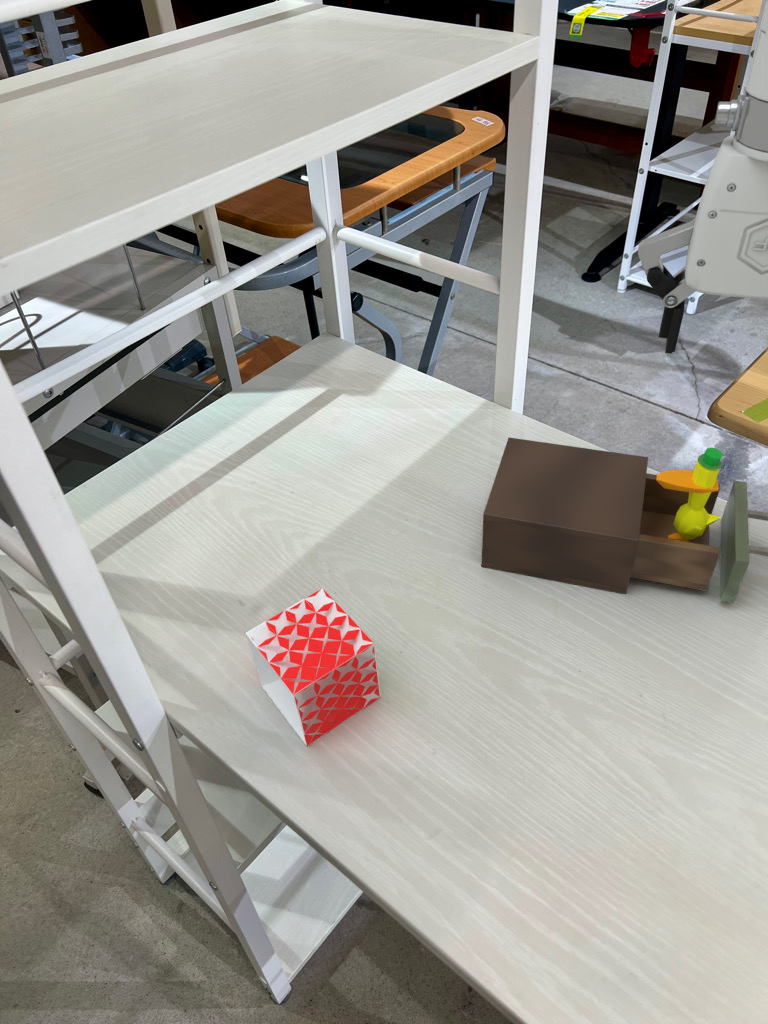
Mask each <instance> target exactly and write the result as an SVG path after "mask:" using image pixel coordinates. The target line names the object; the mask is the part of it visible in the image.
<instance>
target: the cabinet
mask: <svg viewBox="0 0 768 1024" xmlns="http://www.w3.org/2000/svg"><path fill="white" fill-rule="evenodd" d="M648 463H649V457H648V456H642V455H635V454H629V453H621V452H614V451H608V450H601V449H594V448H586V447H579V446H572V445H566V444H565V445H564V444H559V443H551V442H544V441H537V440H531V439H523V438H516V437H511V436H510V437H508V438H507V441H506V444H505V447H504V450H503V453H502V456H501V459H500V462H499V466H498V468H497V472H496V474H495V477H494V480H493V484H492V486H491V490H490V492H489V495H488V499H487V500H486V501H487V502H486V505H485V507H484V510H483V515H482V535H481V536H482V539H481V563H480V564H481V567H482V568H485V569H492V570H497V571H502V572H508V573H512V574H513V573H514V574H517V575H524V576H530V577H535V578H538V579H545V580H549V581H554V582H559V583H565V584H570V585H576V586H580V587H587V588H592V589H596V590H602V591H607V592H613V593H618V594H622V595H627V591H628V588H629V584H630V580H631V577H630V576H631V572H632V567H633V563H634V559H635V555H636V551H637V547H638V543H639V536H640V527H641V518H642V509H643V500H644V491H645V482H646V473H647V472H648V471H647V470H648V465H649V464H648Z"/></svg>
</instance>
